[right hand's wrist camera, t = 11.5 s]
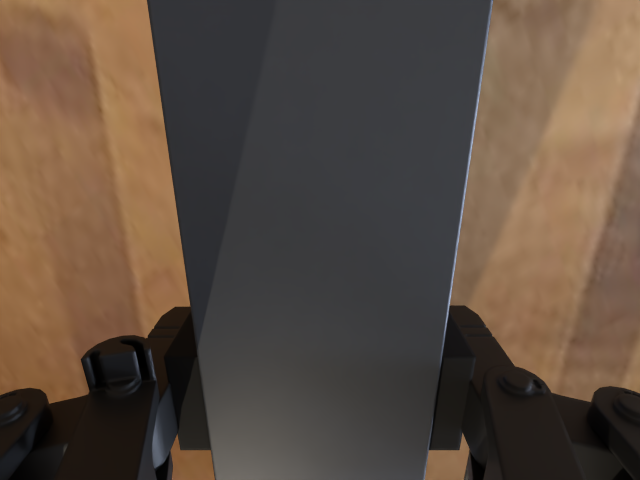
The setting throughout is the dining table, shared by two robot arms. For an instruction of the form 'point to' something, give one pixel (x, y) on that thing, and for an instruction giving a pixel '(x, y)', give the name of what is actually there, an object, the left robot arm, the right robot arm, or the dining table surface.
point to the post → (319, 220)
